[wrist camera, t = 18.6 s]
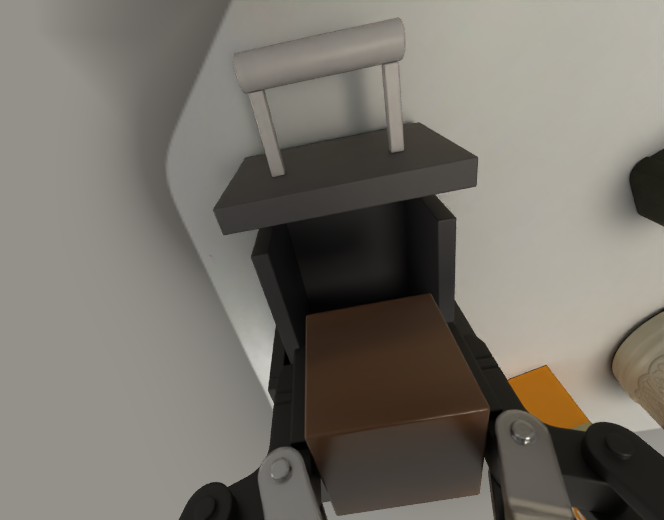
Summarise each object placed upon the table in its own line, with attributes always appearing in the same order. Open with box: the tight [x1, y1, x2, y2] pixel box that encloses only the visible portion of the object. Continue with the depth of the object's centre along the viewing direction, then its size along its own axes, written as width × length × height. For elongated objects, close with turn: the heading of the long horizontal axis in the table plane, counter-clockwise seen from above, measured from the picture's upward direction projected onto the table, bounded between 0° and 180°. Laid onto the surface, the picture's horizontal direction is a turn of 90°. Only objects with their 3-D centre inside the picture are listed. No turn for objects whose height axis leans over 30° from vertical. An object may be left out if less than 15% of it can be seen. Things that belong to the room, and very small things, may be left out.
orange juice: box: [508, 365, 592, 520], centre depth 27 cm, size 8×9×20 cm
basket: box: [213, 18, 478, 364], centre depth 18 cm, size 17×10×8 cm, turn 10°
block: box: [305, 293, 490, 516], centre depth 11 cm, size 4×4×4 cm
